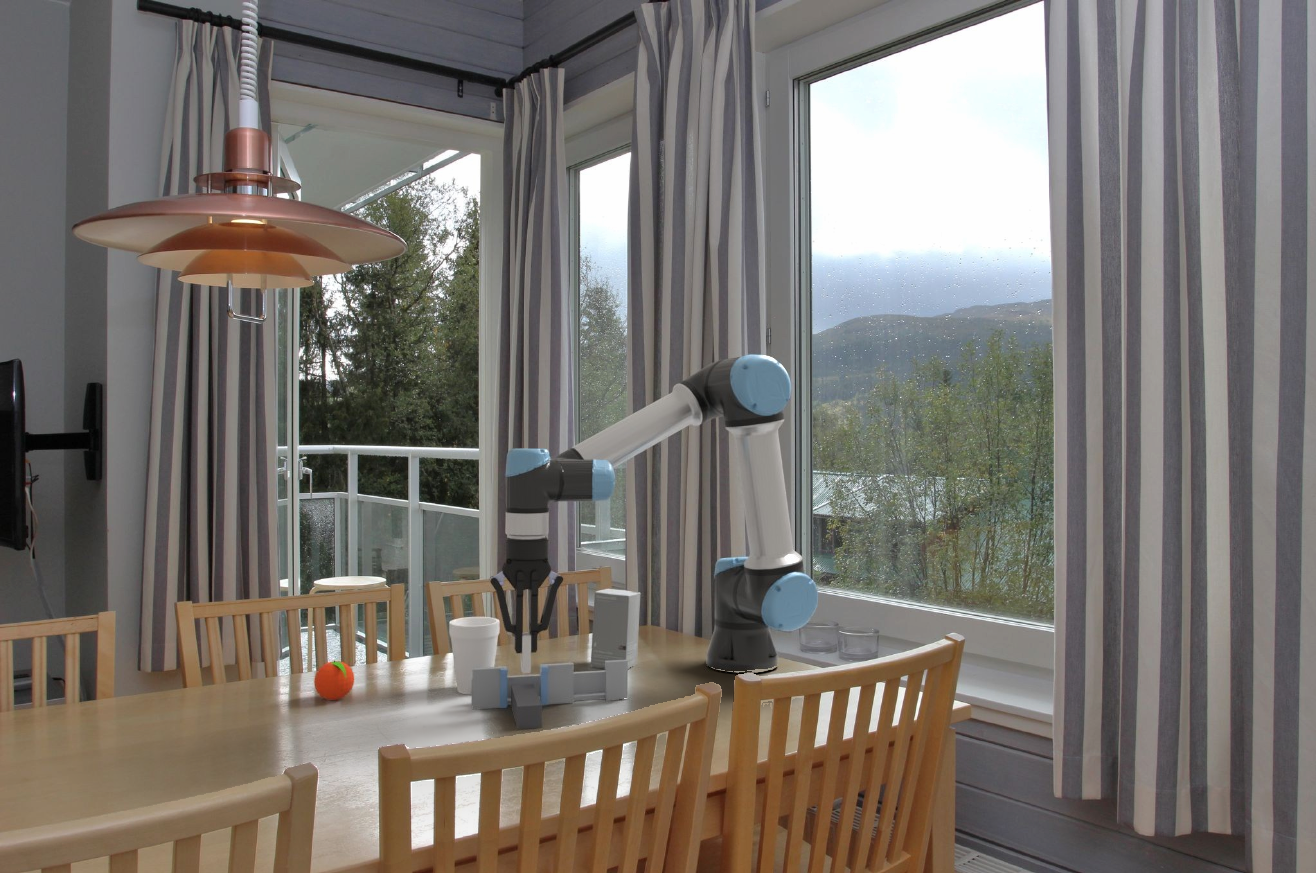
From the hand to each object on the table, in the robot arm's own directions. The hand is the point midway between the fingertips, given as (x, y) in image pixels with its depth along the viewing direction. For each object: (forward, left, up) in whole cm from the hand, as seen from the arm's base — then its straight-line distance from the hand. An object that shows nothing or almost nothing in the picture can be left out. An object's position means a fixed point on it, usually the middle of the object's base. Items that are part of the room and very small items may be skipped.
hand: (525, 671), depth 164 cm
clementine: (+33, -16, -7) cm, 37 cm away
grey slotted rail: (-5, -6, -7) cm, 11 cm away
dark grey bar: (0, +2, -8) cm, 8 cm away
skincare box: (-22, -29, -7) cm, 37 cm away
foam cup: (+8, -17, -7) cm, 20 cm away
